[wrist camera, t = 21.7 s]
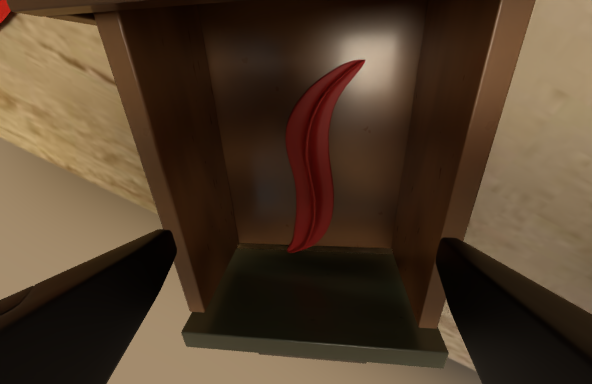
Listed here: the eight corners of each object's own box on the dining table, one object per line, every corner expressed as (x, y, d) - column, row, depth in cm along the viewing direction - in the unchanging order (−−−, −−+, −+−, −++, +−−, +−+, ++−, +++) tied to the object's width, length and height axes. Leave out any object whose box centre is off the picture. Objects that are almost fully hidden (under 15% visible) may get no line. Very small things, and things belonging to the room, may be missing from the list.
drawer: (397, 310, 20) (427, 416, 14) (237, 300, 22) (202, 392, 16) (474, -97, 10) (698, -344, 4) (164, -62, 12) (-17, -202, 5)
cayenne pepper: (320, 38, 12) (319, 33, 10) (410, 81, 12) (424, 84, 10) (243, 233, 17) (233, 252, 15) (307, 259, 17) (304, 280, 16)
